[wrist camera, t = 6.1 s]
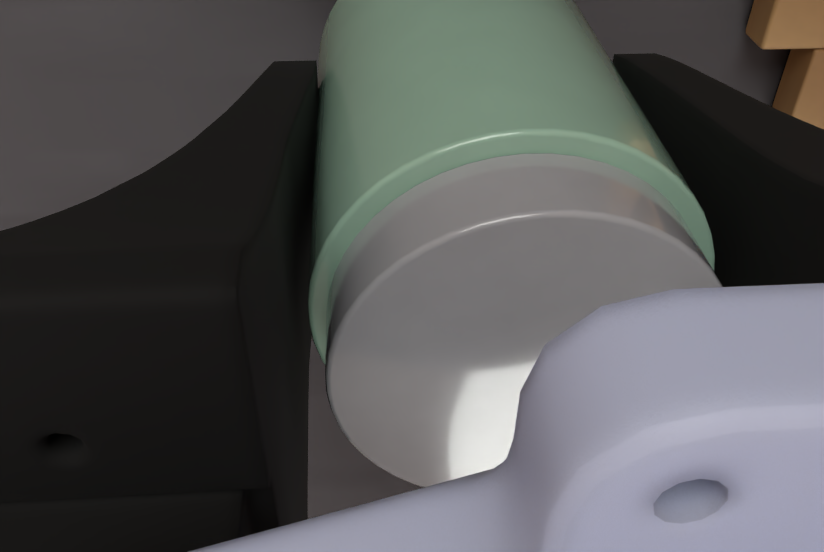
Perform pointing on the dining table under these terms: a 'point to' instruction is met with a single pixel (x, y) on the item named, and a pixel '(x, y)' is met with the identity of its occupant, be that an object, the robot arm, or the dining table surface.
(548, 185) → the salt shaker
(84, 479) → the robot arm
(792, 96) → the salad fork
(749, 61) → the dining table surface
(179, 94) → the dining table surface
